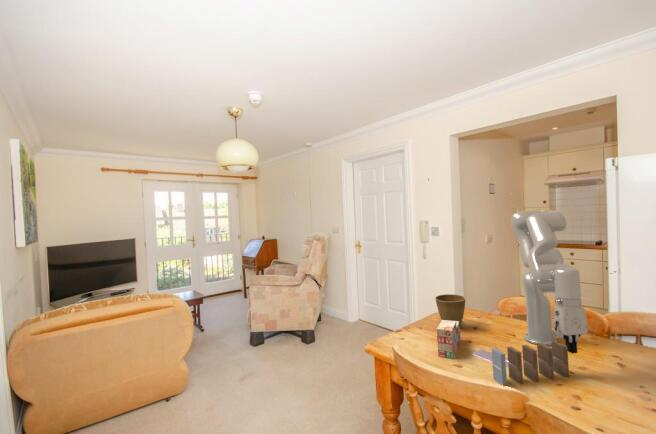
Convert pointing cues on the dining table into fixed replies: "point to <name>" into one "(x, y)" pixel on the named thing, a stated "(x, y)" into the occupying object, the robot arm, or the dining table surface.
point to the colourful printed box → (448, 338)
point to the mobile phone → (486, 356)
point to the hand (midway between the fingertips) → (571, 351)
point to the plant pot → (451, 307)
